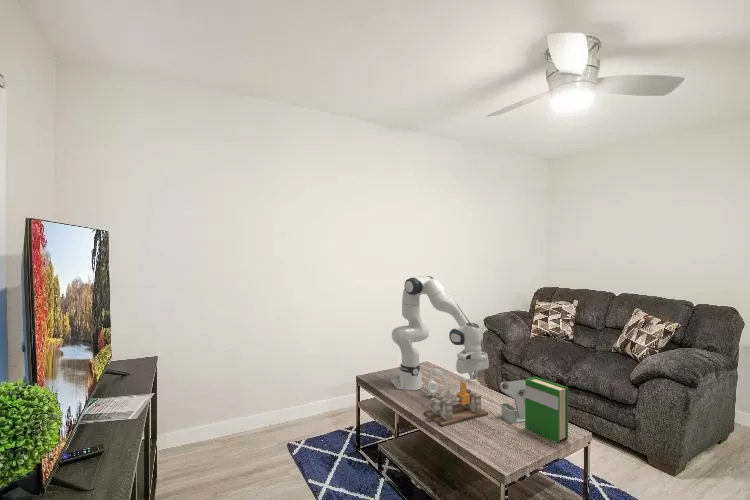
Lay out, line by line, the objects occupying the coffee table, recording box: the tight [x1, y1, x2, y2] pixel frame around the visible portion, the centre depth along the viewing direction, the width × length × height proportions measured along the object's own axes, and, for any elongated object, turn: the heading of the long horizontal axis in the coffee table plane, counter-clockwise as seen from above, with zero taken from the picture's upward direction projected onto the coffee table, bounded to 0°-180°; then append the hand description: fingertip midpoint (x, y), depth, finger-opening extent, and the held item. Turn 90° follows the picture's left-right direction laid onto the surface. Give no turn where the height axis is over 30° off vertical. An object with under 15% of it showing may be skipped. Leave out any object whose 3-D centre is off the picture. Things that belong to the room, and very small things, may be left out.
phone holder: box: [499, 379, 525, 424], centre depth 203 cm, size 17×10×18 cm, turn 105°
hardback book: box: [524, 376, 569, 444], centre depth 185 cm, size 18×7×24 cm, turn 31°
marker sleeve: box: [456, 380, 470, 405], centre depth 208 cm, size 5×5×11 cm
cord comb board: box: [423, 387, 489, 428], centre depth 206 cm, size 16×30×10 cm, turn 117°
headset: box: [425, 368, 452, 399], centre depth 224 cm, size 20×7×18 cm, turn 20°
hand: (473, 379), depth 211 cm, fingers closed
